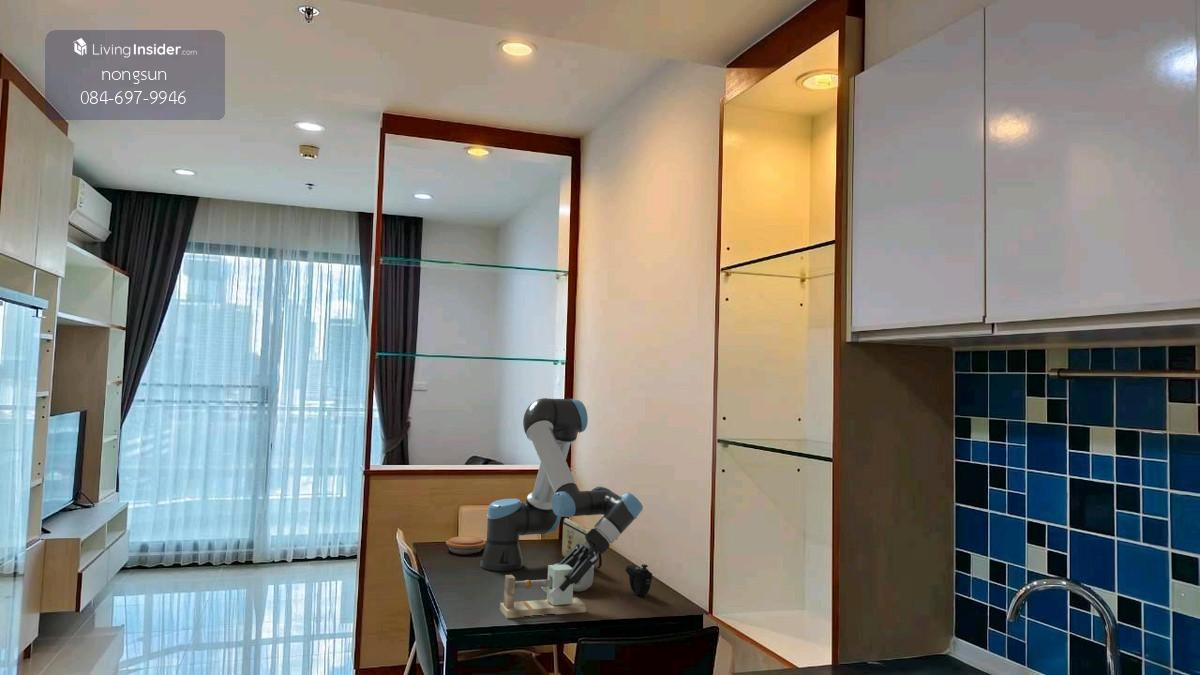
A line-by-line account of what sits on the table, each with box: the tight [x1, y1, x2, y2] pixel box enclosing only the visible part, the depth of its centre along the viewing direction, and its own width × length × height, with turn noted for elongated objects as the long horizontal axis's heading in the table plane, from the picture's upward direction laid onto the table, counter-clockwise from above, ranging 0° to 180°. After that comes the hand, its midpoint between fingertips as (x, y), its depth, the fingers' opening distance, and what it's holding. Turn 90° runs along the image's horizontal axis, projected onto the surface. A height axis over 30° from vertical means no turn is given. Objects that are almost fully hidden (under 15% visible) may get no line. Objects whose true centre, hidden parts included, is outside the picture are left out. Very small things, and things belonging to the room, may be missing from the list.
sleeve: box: [546, 564, 574, 605], centre depth 222 cm, size 6×6×10 cm
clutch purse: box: [560, 517, 603, 569], centre depth 278 cm, size 30×7×15 cm, turn 24°
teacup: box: [553, 562, 595, 592], centre depth 245 cm, size 14×11×8 cm
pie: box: [445, 535, 487, 555], centre depth 291 cm, size 16×16×5 cm
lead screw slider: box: [499, 574, 587, 619], centre depth 220 cm, size 24×8×10 cm, turn 112°
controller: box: [625, 563, 653, 596], centre depth 242 cm, size 4×12×10 cm, turn 27°
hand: (548, 594), depth 220 cm, fingers open, 6 cm apart
